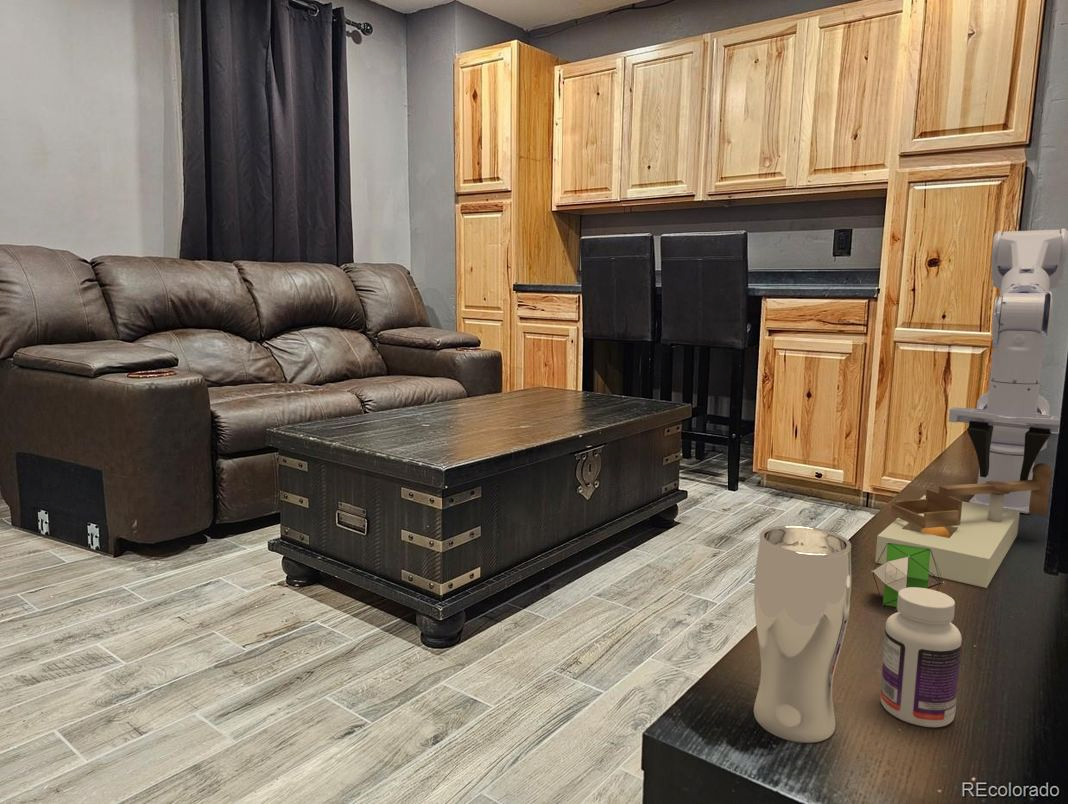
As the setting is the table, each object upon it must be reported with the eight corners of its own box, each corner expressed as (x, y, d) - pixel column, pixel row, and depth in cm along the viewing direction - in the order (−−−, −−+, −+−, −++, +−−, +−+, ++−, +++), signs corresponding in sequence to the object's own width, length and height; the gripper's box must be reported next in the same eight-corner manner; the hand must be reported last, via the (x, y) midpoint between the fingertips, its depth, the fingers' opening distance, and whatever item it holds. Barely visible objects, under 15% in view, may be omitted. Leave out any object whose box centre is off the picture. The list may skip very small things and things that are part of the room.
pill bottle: (961, 708, 58) (972, 595, 57) (945, 738, 54) (957, 618, 53) (890, 684, 62) (899, 577, 60) (870, 711, 58) (879, 597, 57)
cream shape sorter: (922, 517, 108) (926, 471, 107) (1017, 535, 100) (1022, 485, 99) (875, 562, 90) (879, 507, 89) (986, 588, 82) (992, 527, 81)
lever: (1026, 505, 100) (1031, 458, 99) (1063, 518, 95) (1069, 468, 94) (890, 516, 95) (895, 466, 94) (922, 529, 90) (927, 477, 89)
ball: (954, 546, 93) (932, 561, 93) (932, 525, 95) (910, 539, 95) (960, 536, 90) (938, 551, 90) (938, 514, 92) (915, 529, 92)
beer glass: (850, 753, 53) (865, 558, 50) (752, 741, 54) (762, 551, 52) (831, 700, 59) (843, 527, 57) (744, 691, 61) (752, 521, 58)
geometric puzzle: (873, 564, 84) (875, 523, 78) (940, 574, 81) (946, 532, 75) (868, 618, 79) (869, 579, 74) (938, 631, 76) (945, 591, 71)
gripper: (947, 379, 99) (938, 475, 101) (1078, 389, 90) (1065, 494, 92) (958, 375, 104) (949, 466, 106) (1082, 384, 95) (1070, 483, 97)
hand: (1003, 478), depth 99 cm, fingers open, 4 cm apart
